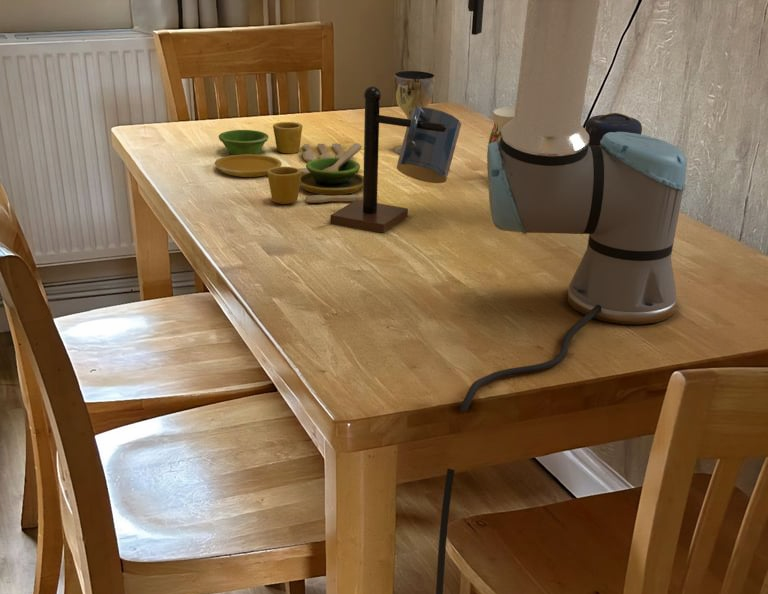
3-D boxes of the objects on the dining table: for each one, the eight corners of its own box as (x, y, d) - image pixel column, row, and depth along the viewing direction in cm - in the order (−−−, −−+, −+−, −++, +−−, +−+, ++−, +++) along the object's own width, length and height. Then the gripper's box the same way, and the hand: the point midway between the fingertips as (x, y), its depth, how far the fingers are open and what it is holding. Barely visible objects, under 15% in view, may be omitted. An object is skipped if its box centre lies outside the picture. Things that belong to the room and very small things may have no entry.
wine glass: (406, 143, 225) (409, 69, 217) (437, 150, 221) (442, 74, 213) (384, 151, 219) (387, 75, 211) (416, 158, 215) (419, 80, 207)
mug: (406, 178, 182) (420, 125, 182) (452, 186, 179) (466, 131, 179) (380, 150, 169) (395, 93, 169) (429, 158, 167) (444, 99, 166)
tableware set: (377, 205, 188) (378, 169, 185) (220, 209, 184) (218, 172, 181) (344, 144, 223) (344, 113, 219) (211, 146, 218) (209, 115, 215)
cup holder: (428, 241, 173) (435, 102, 161) (330, 223, 179) (330, 88, 167) (451, 224, 181) (459, 90, 169) (356, 207, 187) (358, 77, 175)
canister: (627, 230, 181) (645, 121, 171) (572, 225, 182) (586, 117, 173) (628, 213, 189) (644, 109, 179) (574, 208, 190) (588, 104, 181)
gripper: (615, -109, 159) (596, 42, 171) (461, -118, 168) (453, 27, 179) (602, -107, 153) (583, 49, 165) (443, -116, 162) (436, 33, 173)
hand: (515, 38), depth 172 cm, fingers open, 13 cm apart
